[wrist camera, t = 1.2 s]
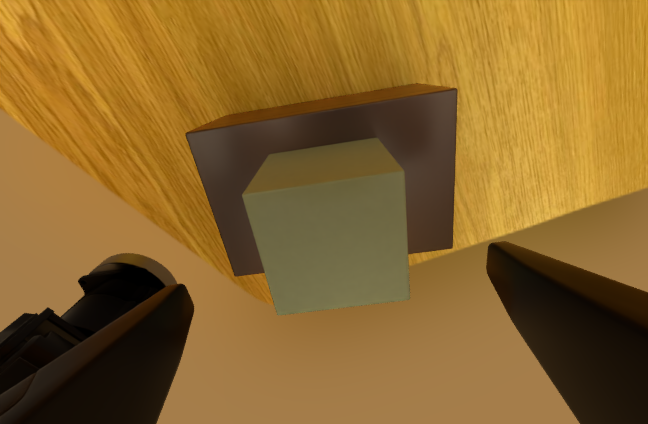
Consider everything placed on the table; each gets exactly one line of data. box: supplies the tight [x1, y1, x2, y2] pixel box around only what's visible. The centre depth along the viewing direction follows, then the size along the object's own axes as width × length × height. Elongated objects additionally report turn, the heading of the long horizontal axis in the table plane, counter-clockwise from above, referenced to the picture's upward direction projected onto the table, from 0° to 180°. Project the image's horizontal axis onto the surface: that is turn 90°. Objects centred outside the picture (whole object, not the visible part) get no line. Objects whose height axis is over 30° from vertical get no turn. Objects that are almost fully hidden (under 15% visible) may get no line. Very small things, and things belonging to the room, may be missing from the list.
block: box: [242, 138, 410, 315], centre depth 12 cm, size 5×5×5 cm
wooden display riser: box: [186, 83, 457, 276], centre depth 17 cm, size 12×8×6 cm, turn 99°
